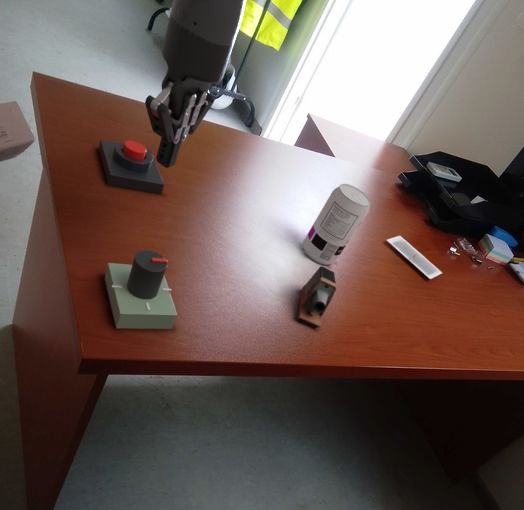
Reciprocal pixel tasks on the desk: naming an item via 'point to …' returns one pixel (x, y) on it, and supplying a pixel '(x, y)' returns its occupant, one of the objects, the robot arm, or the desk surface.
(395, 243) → the white grey flat block
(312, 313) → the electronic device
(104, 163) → the button base
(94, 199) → the desk surface
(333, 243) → the supplement can
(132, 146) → the button
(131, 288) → the dial
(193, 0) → the robot arm
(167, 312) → the dial panel
